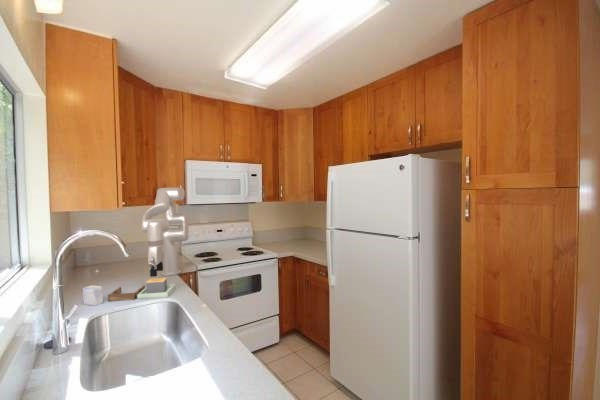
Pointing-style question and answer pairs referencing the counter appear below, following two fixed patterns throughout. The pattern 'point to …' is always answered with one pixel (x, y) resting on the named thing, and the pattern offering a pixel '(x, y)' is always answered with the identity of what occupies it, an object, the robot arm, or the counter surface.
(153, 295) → the tray
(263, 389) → the counter surface
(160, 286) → the caddy
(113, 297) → the bay
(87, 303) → the medicine box
